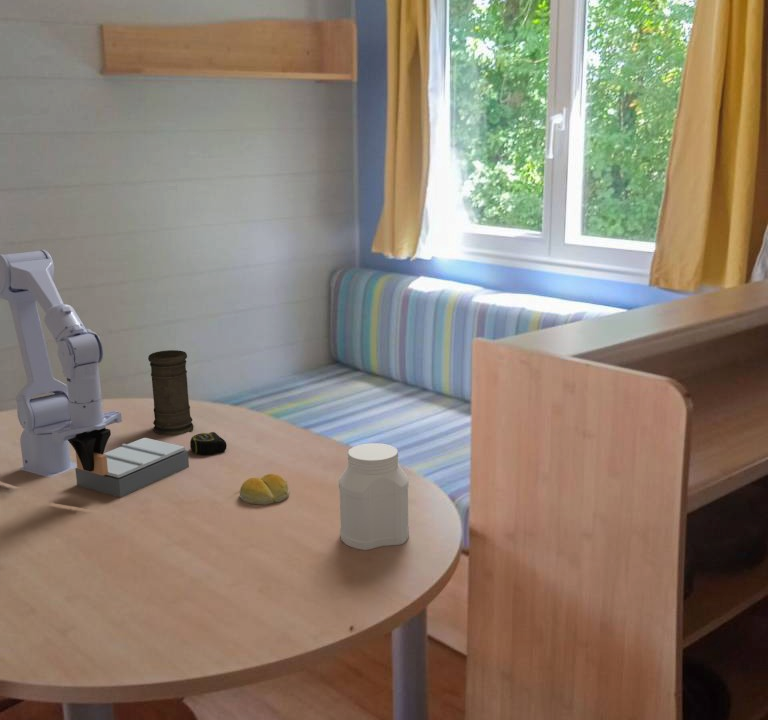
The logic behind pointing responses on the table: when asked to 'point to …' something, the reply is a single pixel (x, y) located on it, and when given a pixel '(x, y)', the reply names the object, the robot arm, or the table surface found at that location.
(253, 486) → the bread roll
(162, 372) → the container
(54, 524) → the table surface
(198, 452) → the tape measure
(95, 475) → the tub
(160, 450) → the lid
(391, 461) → the jar
